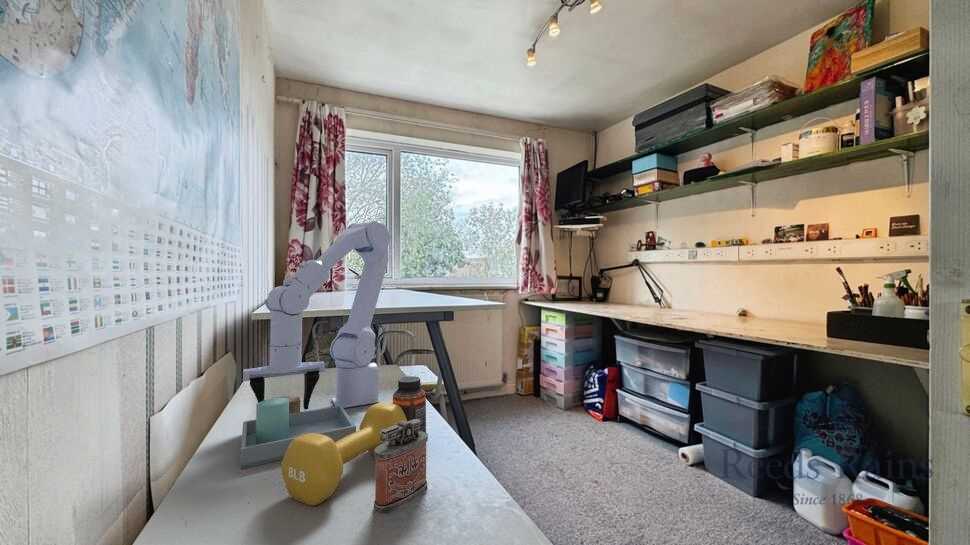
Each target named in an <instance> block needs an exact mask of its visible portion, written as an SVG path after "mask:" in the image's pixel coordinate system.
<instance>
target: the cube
mask: <svg viewBox="0 0 970 545" xmlns="http://www.w3.org/2000/svg"><path fill="white" fill-rule="evenodd" d="M273 398H287V399H289V414H292V413H298V412H301V399H300V396H299V393H297V394H296V393H295V394H289V395H283V396H282V395H281V396H277V397H271V398H270V399H273Z"/></svg>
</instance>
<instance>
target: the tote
mask: <svg viewBox="0 0 970 545" xmlns="http://www.w3.org/2000/svg"><path fill="white" fill-rule="evenodd" d="M241 431H242V432H241V433H242V434H241V440H240V441H241V444H240V470H242V469H247V468H251V467H256V466H260V465H265V464H269V463H273V462H278V461H283V458H284V456H285V453H286V451H287V449H288V447H289V445H290V443H291V442H292V440H294V439H295V438H297V437H299V436H302V435H304V434H307V433H317V434H322V435H325V436H328V437H330V438H331V439H332V440H333V441H334V442H337V441H339V440H340V439H342V438H344V437H346V436H348V435H350V434H352V433H355V432H357V426H356V424H355V422H354V421H353V420H352V418H351V417H350V415H349V414H348V413H347V411H346V410H345V408H343V407H342V405H339V406H335V405H334V406H328V407H322V408H317V409H311V410H309V409H308V410H303V411H300V412H298V413H292V414H289V438H288V439H283V440H278V441H273V442H268V443H263V444H258V445H256V419H250V420H245V421H243V422H242V430H241Z"/></svg>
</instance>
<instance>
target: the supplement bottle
mask: <svg viewBox="0 0 970 545" xmlns="http://www.w3.org/2000/svg"><path fill="white" fill-rule="evenodd" d="M426 397H427V394H426V391H425V390H424V388H422V387H421V377H419V376H410V375H409V376H404V377H400V378H398V380H397V389H396V390H395V391H394V392H393V394H392V404H396V405H398V406H400V407H401V408H402V410H403V412H404V414H405V417H406V419H407V421H411V420H414V419H418V420H420V428H419V431H423V432H426V433H427V398H426Z"/></svg>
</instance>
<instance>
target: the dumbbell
mask: <svg viewBox="0 0 970 545" xmlns="http://www.w3.org/2000/svg"><path fill="white" fill-rule="evenodd" d="M401 420H405V421H407V419H406V417H405V414H404V412H403V410H402V408H401V407H400V406H398V405H396V404H393V402H392V403H391V402H387V401H385V402H384V401H379V402H376V403H373V404H372V405H370V406H369V408H368V409H367V410H366V412H365V414H364V416H363V418H362V420H361V422H360V425H359V430H356V432H355V433H352V434H350V435H348V436H346V437H344V438H342V439H340V440H339V441H337V442H334V441H333V440H332V439H331V438H330V437H328V436H325V435H322V434H317V433H307V434H304V435H302V436H299V437H297V438H295V439H294V440H292V442H291V443H290V445H289V447H288V449H287V451H286V453H285V456H284V458H283V460H281V465H280V466H281V467H280V468H281V475H282V478H283V480H284V484H285V487H286V490H287V492H288V494H289V496H290V497H291V498H292V499H294V500H296V501H298V502H300V503H303V504H305V505H308V506H317V505H320V504H322V503H323V502H324V501H325V500H327V499H328V498H330V496H332V494H333V493H334V492H335V490H336V488H337V487H338V485H339V483H340V481H341V479H342V476H343V472H344V465H346V464H347V463H349V462H350V461H352V460H354V459H355V458H357V457H359V456H361V455H363V454H365V453H366V452H369V454H373V455H374V449H375V448H376V447H377V446H379V445H381V444H383V443H385V442H382V441H380V432H381V431H382V430H383V429H386V428H389V427H391V426H394V425H395V426H397V424H398V422H399V421H401ZM407 422H408V421H407ZM386 442H387V441H386Z"/></svg>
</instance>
